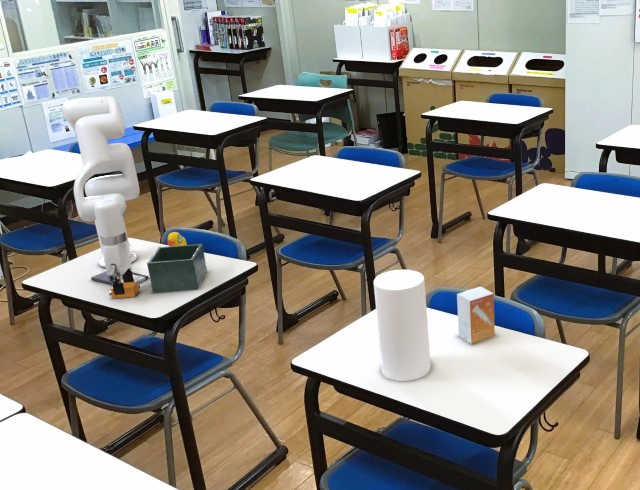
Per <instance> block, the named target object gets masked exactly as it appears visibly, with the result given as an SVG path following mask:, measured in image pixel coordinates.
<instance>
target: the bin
mask: <svg viewBox="0 0 640 490" xmlns="http://www.w3.org/2000/svg"><path fill="white" fill-rule="evenodd" d="M203 245H204V244H203V243H195V244H187V245H181V246H169V245H168V246H159V247H158V248H157V249H156V250H155V252H154V253H153V254H152V256H150V258H149V260H148V262H146V265H147V270H148V277H149V280H150V286H151V290H152V293H153V294H159V293H160V294H161V293H173V292H181V291H192V290H193V291H194V290H195V291H196V290H199V289H200V287H201V285H202V283H203V281H204V280H205V277H206V276H207V274H208V268H207V262H206V257H205V251H204V246H203Z"/></svg>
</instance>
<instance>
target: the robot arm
mask: <svg viewBox="0 0 640 490" xmlns="http://www.w3.org/2000/svg"><path fill="white" fill-rule="evenodd" d="M61 110H62V113H63V116H64V119H65V120H66V122H67V123H68V124H69V126H70V127H71V129H72V130H73V131H74V133H75V134H76V138H77V143H78V147H79V152H80V157H81V162H82V168H80V171H79V172H78V174H76V175H77V176H76V178H75V180H74V183H73V196H74V200H75V201H74V202H75V206H76V210H77V214H78V216H79V218H80V219H81V220H82V221H84V222H93V221H94V224H95V229H96V234H97V238H98V241H99V242H98V243H99V247H100V252H101V255H102V258H101V259H99V261H98V264H99V266H100V267H103V268H105V271H107V275H108V276H109V277H110V279H111V280H110V281H111V284H112V285H111V286H112V287H113V291H114V295H123V294H125V290H124V286H123V282H124V283H127V282H134V279H133V274H132V272H133V269H132V266H131V265H132V263H134V262H135V261H136V260H137V254H136V253H134V252H131V248H130V247H131V243H130V241H129V237H128V232H127V227H126V222H125V218H124V213H125V211H126V209H127V202H126V201H131V200H135V199H138V197H139V196H140V193H141V192H140V185H139V183H140V182H139V180H138V175H137V174H138V173H137V170H136V165H135V160H134V156H133V152H132V150H131V148H130V146H129V145H128V144H127V143H124V142H116V143H110V144H108V141H110V140H117V139H121V138H123V137H124V136H125V133H126V128H125V127H126V126H125V121H124V117H123V113H122V109H121V105H120V102H119V100H118V99H117V98H116V97H115V96H113V95H104V96H96V97H95V96H94V97H84V98H77V99H72V100H68V101H66V102H64V103H63V105H62V109H61ZM114 172H121V173H118V174H110V175H104V176H103V175H102V176H98V177H93V176H94V175H100V174H106V173H114ZM92 177H93V178H92ZM90 178H91V179H90ZM84 192H85V195H86V197H85V195H84ZM115 273H117V274H115ZM116 276H119V279H118V278H117V277H116ZM122 277H123V282H121V280H122Z"/></svg>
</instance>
